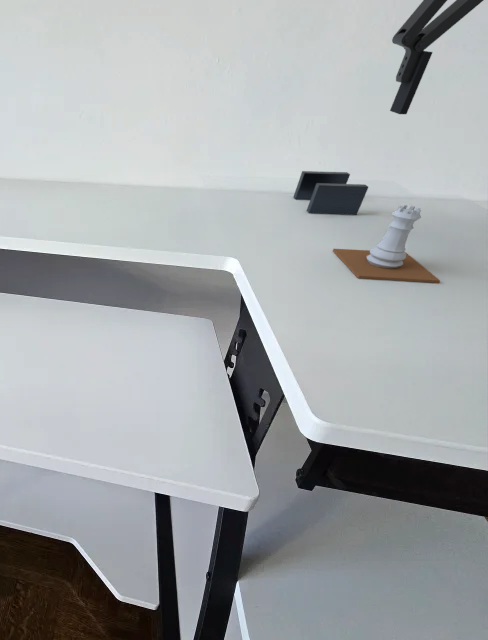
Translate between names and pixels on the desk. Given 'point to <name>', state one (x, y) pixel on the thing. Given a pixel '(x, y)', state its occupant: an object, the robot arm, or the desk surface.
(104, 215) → the desk surface
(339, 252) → the mat
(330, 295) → the desk surface
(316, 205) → the stand
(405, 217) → the rook chess piece
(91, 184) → the desk surface
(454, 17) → the robot arm
